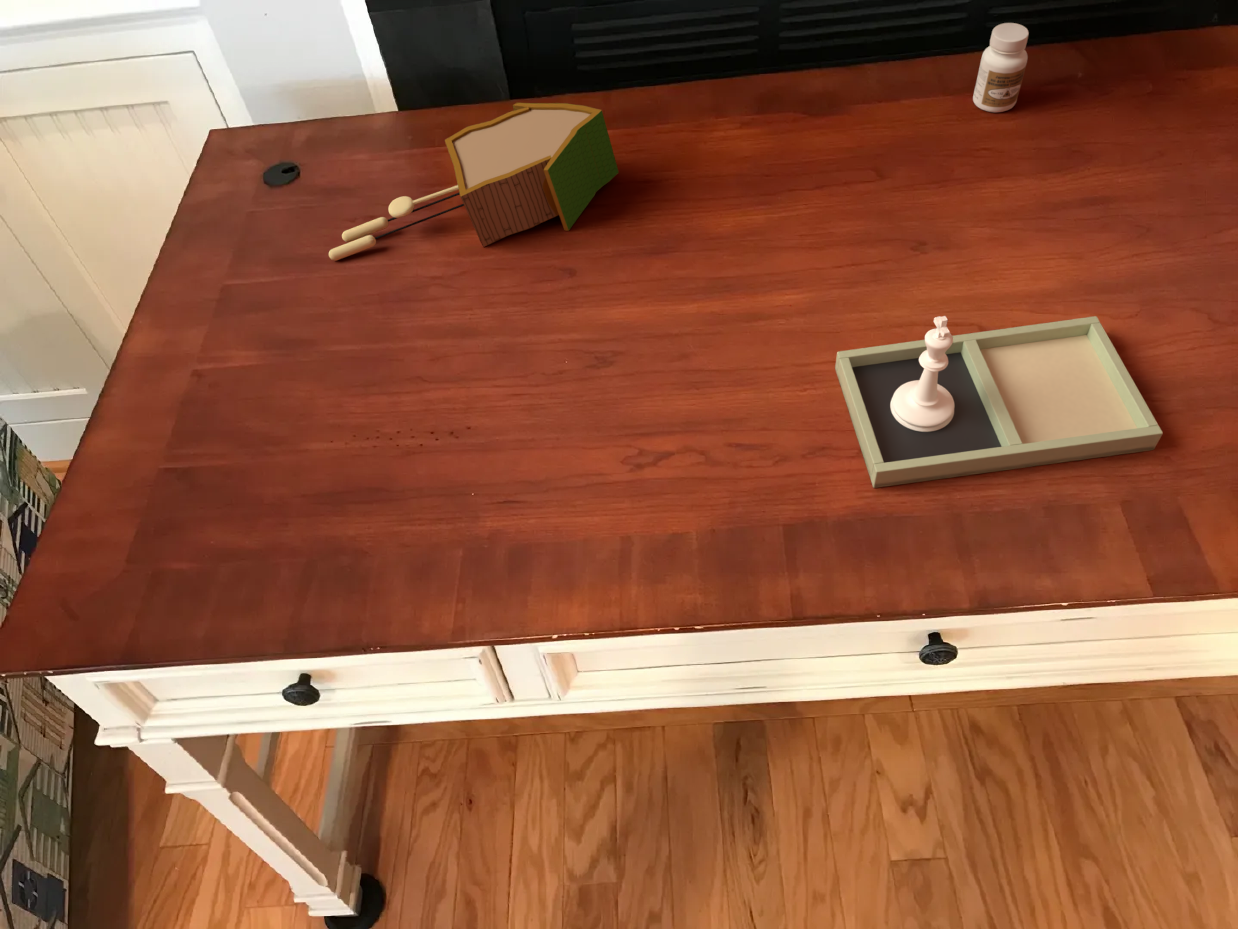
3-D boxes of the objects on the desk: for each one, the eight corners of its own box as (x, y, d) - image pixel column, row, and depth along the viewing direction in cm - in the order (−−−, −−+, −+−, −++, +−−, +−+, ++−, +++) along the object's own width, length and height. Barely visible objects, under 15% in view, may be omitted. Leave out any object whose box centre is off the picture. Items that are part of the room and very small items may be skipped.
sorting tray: (1089, 333, 83) (1096, 315, 81) (1153, 450, 75) (1163, 433, 73) (834, 368, 83) (836, 351, 81) (873, 488, 75) (876, 472, 74)
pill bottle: (984, 117, 101) (1000, 47, 95) (964, 94, 104) (979, 25, 98) (1023, 108, 102) (1042, 37, 96) (1003, 85, 104) (1020, 15, 98)
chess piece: (938, 379, 80) (961, 288, 72) (964, 424, 77) (991, 334, 69) (880, 392, 80) (897, 303, 72) (904, 438, 77) (924, 350, 69)
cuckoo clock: (352, 315, 97) (635, 207, 97) (315, 260, 91) (618, 144, 90) (337, 238, 104) (602, 137, 104) (302, 182, 98) (584, 74, 97)
